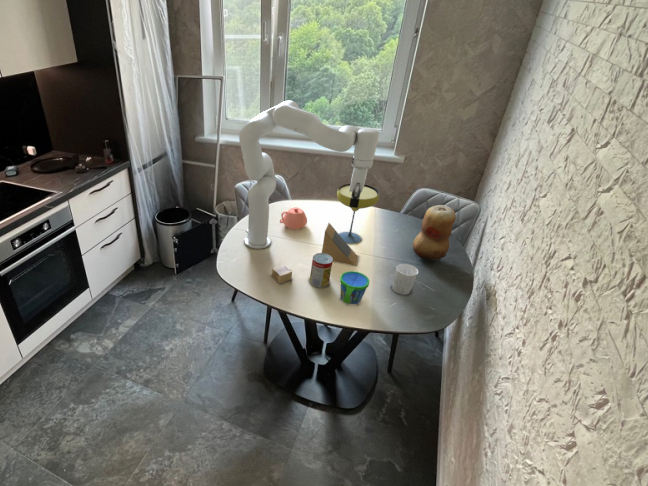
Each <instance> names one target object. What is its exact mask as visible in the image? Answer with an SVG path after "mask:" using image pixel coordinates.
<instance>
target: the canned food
mask: <svg viewBox="0 0 648 486" xmlns="http://www.w3.org/2000/svg"><path fill="white" fill-rule="evenodd" d="M310 267H311V268H310V275H309V284H311V285H312V286H313V287H316V288H326V287H328V286H329V284H330V280H331V274H332V268H333V258H332V257H331V256H330V255H328V254H325V253H322V252H318V253H315V254H313V256H312V261H311V266H310Z"/></svg>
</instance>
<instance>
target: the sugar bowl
mask: <svg viewBox="0 0 648 486" xmlns="http://www.w3.org/2000/svg"><path fill="white" fill-rule="evenodd" d="M280 217H281V218H280V219H279V223H280V224H283V225H284V226H285V227H286V228H288V229H289V230H301V229H303V228H304V227H306V226H307V224H308V217H307V215H306V213H305V211H304V210H303V209H302V208H299V207H297V206H296V207H291V208H289V209H288V210H286V211H283V212H281V215H280Z"/></svg>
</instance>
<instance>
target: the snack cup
mask: <svg viewBox="0 0 648 486" xmlns="http://www.w3.org/2000/svg"><path fill="white" fill-rule="evenodd" d="M339 283H340V300H341V301H342V302H343V303H344V304H346V305H358V304H359V303H361V301H362V299H363V297H364V295H365V293H366V291H367V289H368V287H369V286H370V279H369V277H368V276H367V275H365V274H364V273H362V272H359V271H354V270H348V271H345V272H343V273H341V275H340V277H339Z"/></svg>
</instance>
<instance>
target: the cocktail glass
mask: <svg viewBox="0 0 648 486" xmlns="http://www.w3.org/2000/svg"><path fill="white" fill-rule="evenodd" d="M350 184H351V183H346V184H343V185H340V186H339V187H338V189H337V191H336V199H337V200H338V201H339V203H341V204H342V205H344V206H345V207H348V208H350V209H351V210H352V212H353V213H352V219H351V223H350V228H349V231H344V232H341V233H338V234H339V235H340V236H341V237H342V239H343V240H344V241H345V242H346V243H347V244H348V245H349V244H350V245H355V244H358V243H361V240H362V237H361V235H358V234H357V233H355V232H352V231H353V225H354V219H355V214H356V212H357V211H359V210H360V209H361V210H362V209H367V208H371V207H372V206H374V205H376V204H377V203H378V202H379V199H380V191H379V190H378V189H376V188H375V187H374V186H371V185H368V184H364V187H363V190H362V192H361V193H360V197H359V198H360V199H359V204H358V208H353V207H349V205H350V200H351V196H352V191H351V192H350V191H349V189H350Z"/></svg>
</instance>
